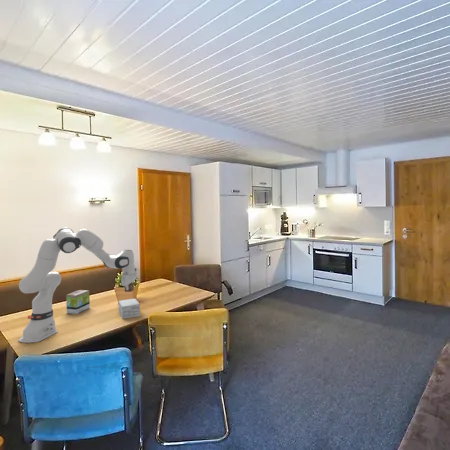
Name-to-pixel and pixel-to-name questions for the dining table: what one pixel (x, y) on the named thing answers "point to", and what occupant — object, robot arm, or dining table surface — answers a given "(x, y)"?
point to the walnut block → (130, 288)
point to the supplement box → (129, 308)
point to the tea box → (78, 301)
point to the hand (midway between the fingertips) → (129, 288)
